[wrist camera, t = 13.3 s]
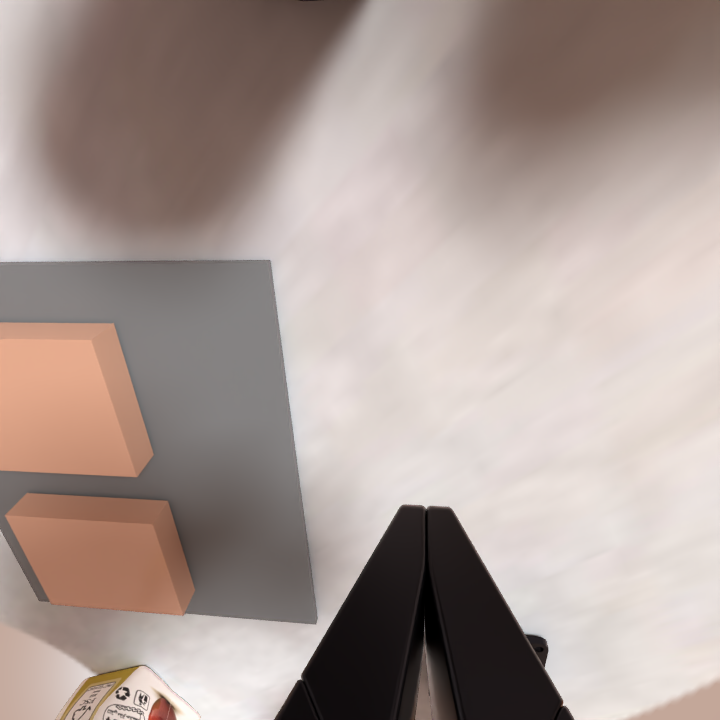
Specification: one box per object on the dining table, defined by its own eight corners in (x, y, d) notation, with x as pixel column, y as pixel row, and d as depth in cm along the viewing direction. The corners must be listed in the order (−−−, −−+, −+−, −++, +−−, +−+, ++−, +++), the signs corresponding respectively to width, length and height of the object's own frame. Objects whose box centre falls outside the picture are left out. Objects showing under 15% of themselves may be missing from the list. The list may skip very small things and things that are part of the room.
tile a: (183, 615, 27) (51, 604, 28) (196, 587, 29) (70, 578, 30) (152, 524, 24) (4, 515, 25) (169, 498, 25) (28, 490, 26)
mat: (317, 618, 29) (316, 624, 29) (43, 595, 32) (39, 601, 31) (270, 260, 19) (267, 263, 19) (-133, 263, 21) (-142, 266, 21)
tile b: (137, 477, 23) (-20, 469, 24) (155, 452, 24) (7, 446, 25) (91, 340, 19) (-89, 337, 20) (115, 321, 21) (-53, 320, 22)
